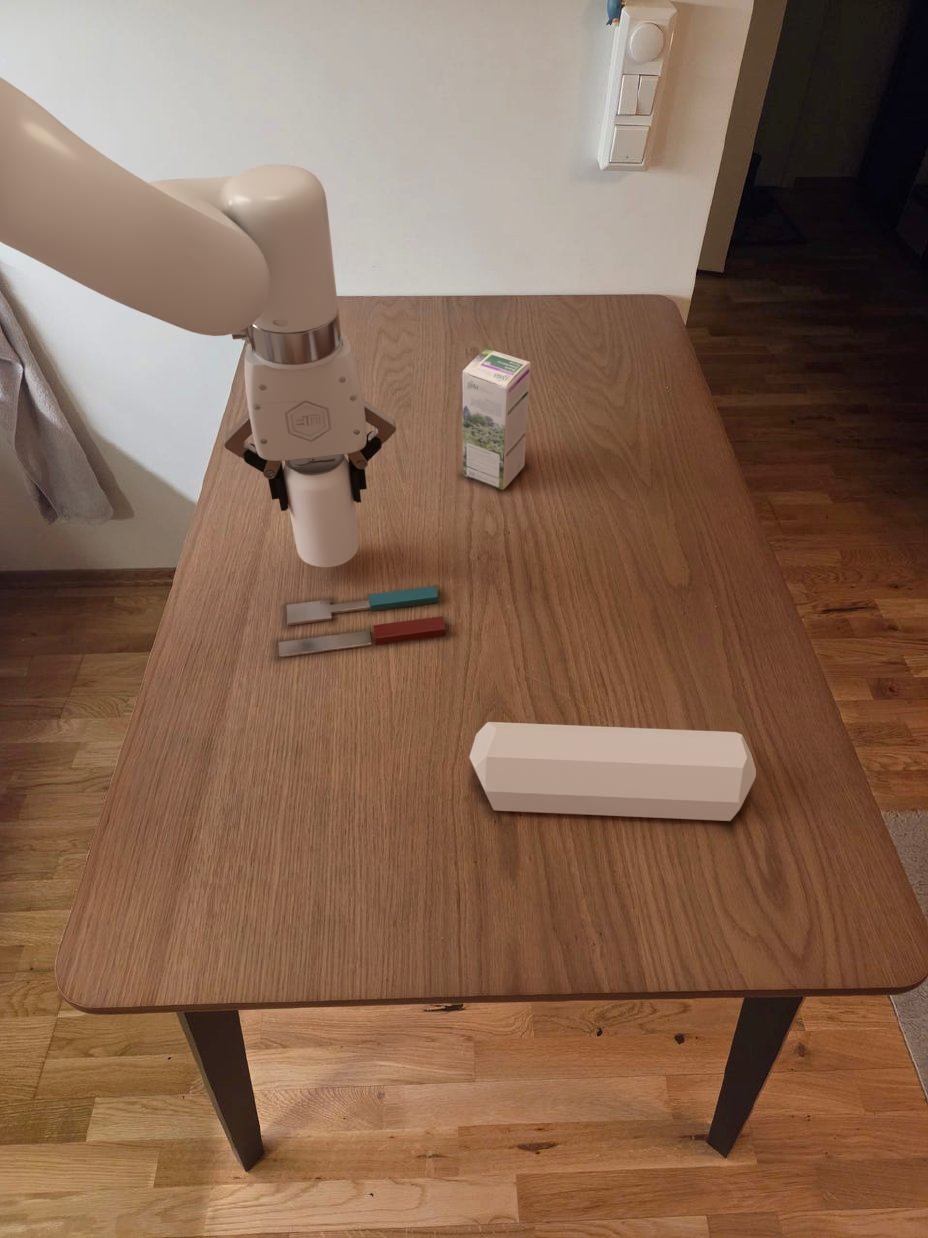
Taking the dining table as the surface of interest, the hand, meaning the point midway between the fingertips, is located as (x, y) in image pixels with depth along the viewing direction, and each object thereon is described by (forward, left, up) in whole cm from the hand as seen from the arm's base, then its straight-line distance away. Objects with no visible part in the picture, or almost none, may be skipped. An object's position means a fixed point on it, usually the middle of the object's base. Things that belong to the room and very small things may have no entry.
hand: (320, 496), depth 85 cm
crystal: (+22, -31, -10) cm, 39 cm away
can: (0, 0, -7) cm, 7 cm away
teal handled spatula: (+3, -6, -10) cm, 12 cm away
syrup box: (+21, +13, -10) cm, 26 cm away
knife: (+3, -11, -10) cm, 15 cm away
